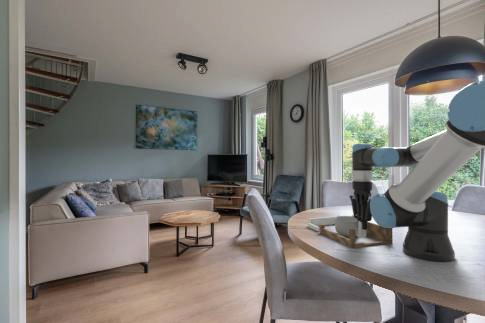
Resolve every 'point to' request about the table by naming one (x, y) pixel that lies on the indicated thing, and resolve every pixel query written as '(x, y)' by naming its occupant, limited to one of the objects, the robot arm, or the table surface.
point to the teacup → (345, 225)
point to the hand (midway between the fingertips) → (362, 236)
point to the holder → (320, 222)
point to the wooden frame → (372, 231)
